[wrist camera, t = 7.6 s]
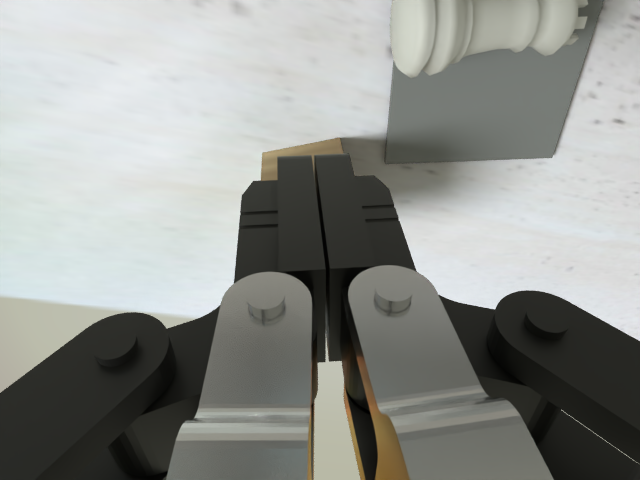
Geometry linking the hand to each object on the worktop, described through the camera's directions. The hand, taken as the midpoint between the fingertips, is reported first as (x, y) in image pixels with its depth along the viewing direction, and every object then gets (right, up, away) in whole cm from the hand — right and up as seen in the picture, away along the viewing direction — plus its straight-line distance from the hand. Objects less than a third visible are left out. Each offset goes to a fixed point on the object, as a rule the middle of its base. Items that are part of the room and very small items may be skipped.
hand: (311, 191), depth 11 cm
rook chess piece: (+4, +8, +11) cm, 14 cm away
